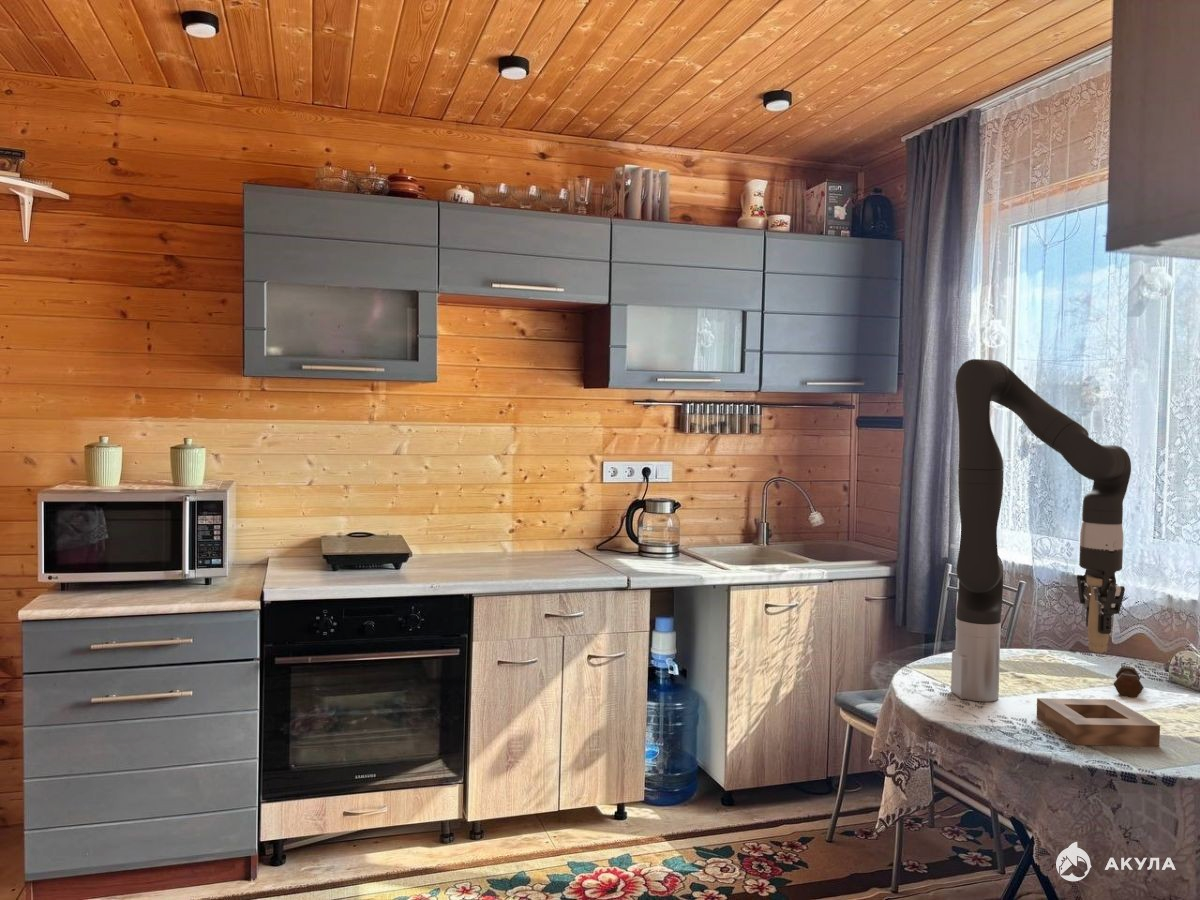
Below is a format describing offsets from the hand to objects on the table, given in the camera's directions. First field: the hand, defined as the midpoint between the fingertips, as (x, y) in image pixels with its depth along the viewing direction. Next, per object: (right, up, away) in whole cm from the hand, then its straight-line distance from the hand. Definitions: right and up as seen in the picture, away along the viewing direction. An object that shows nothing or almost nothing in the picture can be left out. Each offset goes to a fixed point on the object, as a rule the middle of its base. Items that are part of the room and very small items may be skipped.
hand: (1098, 630), depth 182 cm
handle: (0, -4, 0) cm, 4 cm away
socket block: (0, -20, +1) cm, 20 cm away
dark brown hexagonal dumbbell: (+23, -20, +30) cm, 43 cm away
